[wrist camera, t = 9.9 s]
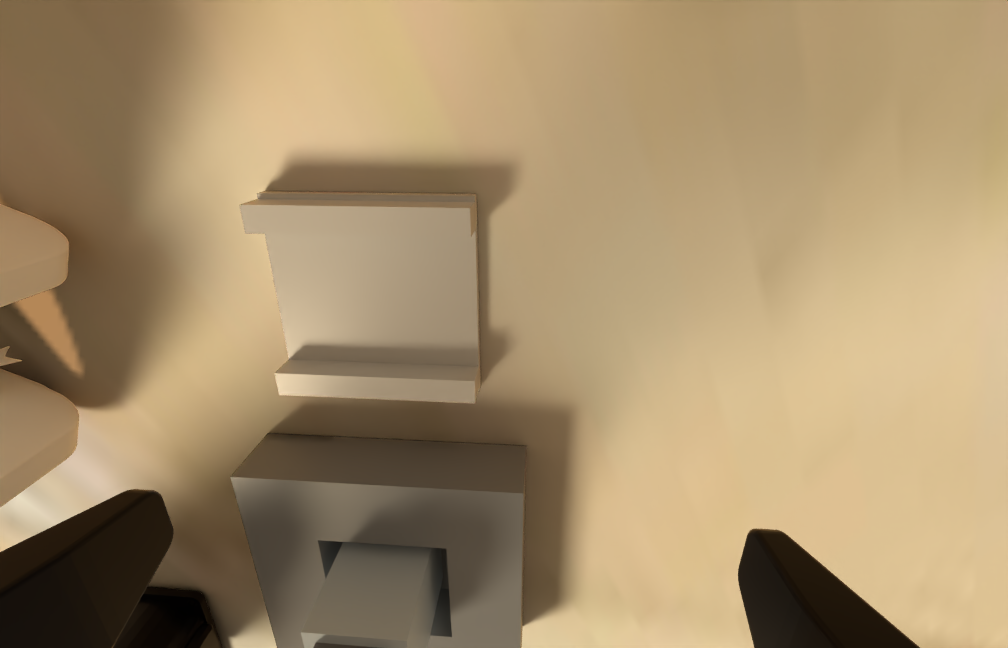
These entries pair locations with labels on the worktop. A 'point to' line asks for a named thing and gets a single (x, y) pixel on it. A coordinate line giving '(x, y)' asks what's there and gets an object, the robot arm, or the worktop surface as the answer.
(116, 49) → the worktop surface
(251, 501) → the socket plate
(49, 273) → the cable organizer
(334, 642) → the plug
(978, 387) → the worktop surface
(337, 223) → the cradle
